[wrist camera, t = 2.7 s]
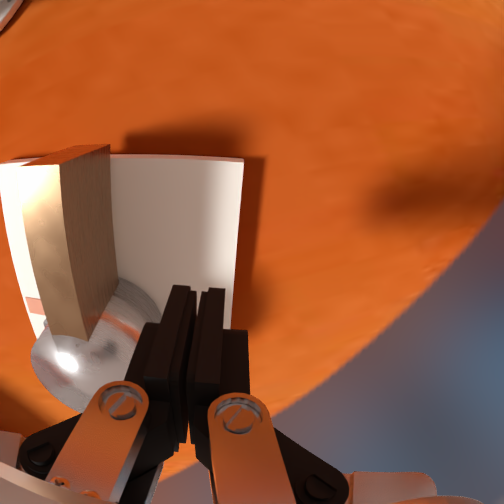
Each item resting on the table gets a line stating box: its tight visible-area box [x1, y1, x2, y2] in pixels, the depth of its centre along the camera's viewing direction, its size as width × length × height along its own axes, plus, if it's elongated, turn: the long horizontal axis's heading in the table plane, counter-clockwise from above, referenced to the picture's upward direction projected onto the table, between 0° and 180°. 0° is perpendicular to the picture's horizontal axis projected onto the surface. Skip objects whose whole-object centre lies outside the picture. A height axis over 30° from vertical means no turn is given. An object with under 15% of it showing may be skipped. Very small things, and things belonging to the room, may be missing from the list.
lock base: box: [0, 154, 244, 339], centre depth 23 cm, size 24×18×2 cm
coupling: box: [17, 144, 162, 413], centre depth 17 cm, size 17×10×7 cm, turn 175°
